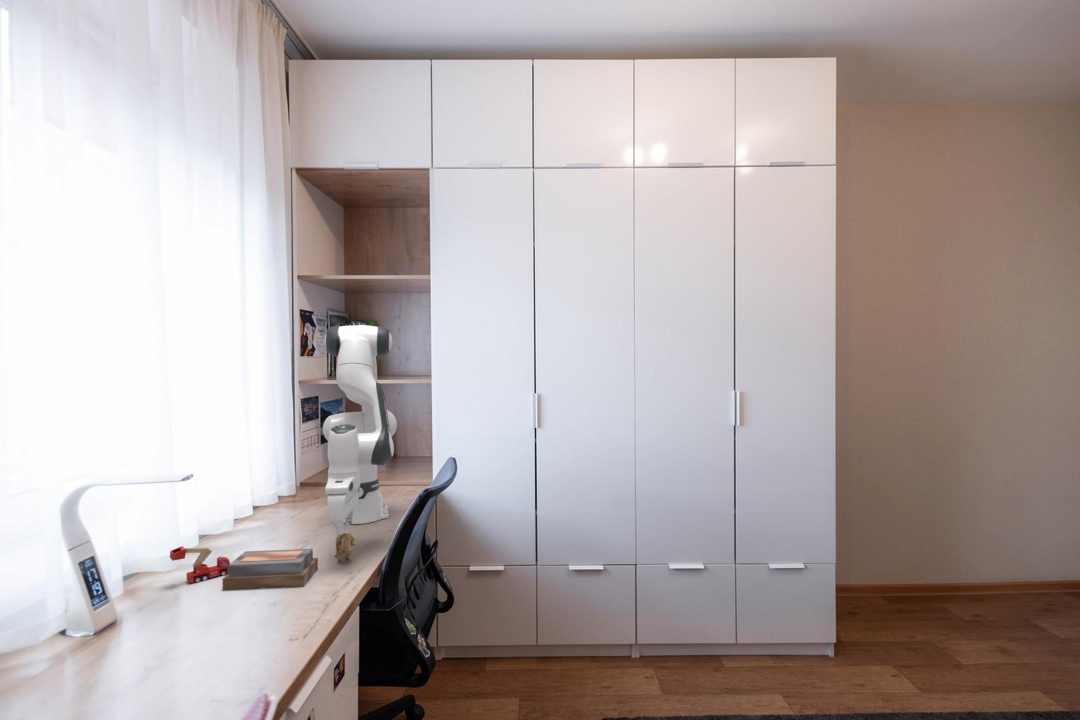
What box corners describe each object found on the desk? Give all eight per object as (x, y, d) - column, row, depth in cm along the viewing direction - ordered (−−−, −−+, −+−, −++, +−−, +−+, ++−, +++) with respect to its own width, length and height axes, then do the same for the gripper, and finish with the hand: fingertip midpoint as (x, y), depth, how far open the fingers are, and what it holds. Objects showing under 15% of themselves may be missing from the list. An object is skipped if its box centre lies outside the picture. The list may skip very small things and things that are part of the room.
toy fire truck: (231, 573, 152) (231, 539, 152) (173, 589, 142) (172, 552, 142) (228, 570, 154) (227, 536, 154) (170, 585, 145) (169, 548, 145)
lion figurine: (359, 564, 158) (358, 533, 158) (339, 568, 155) (339, 536, 155) (345, 549, 170) (345, 520, 170) (327, 553, 167) (327, 523, 167)
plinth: (243, 571, 153) (242, 549, 153) (317, 568, 155) (317, 546, 155) (222, 590, 141) (222, 566, 141) (303, 586, 143) (303, 562, 143)
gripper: (342, 474, 171) (343, 519, 171) (323, 489, 151) (324, 540, 151) (363, 473, 172) (364, 518, 172) (346, 488, 151) (347, 539, 151)
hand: (345, 528), depth 161 cm, fingers open, 8 cm apart
